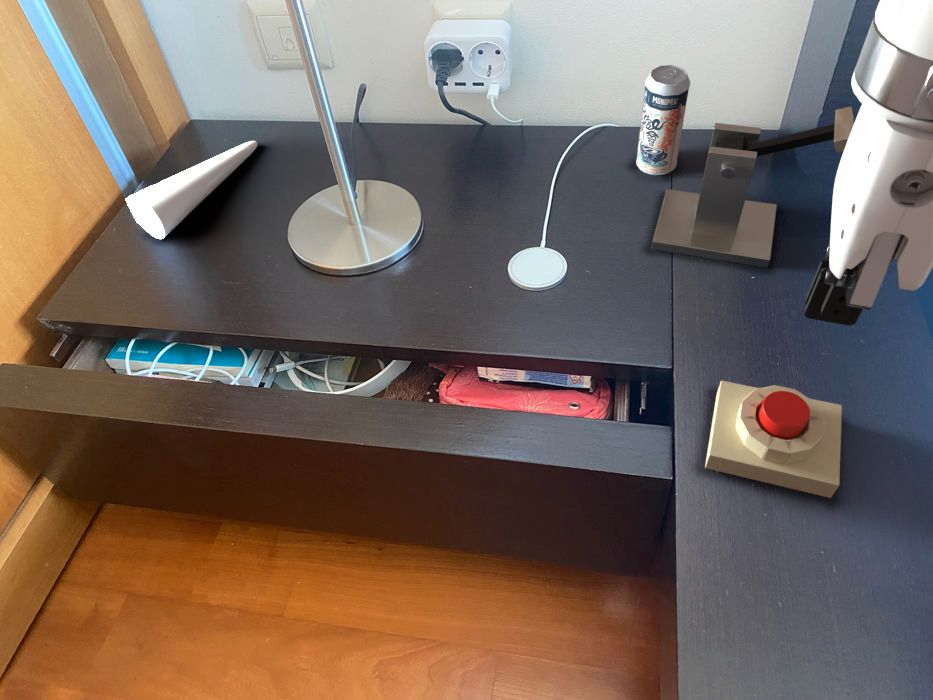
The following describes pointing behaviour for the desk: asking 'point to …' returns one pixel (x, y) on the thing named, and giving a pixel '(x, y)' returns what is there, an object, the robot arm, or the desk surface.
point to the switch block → (775, 442)
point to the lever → (799, 137)
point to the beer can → (662, 119)
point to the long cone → (183, 191)
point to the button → (783, 414)
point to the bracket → (720, 209)
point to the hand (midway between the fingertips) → (828, 313)
